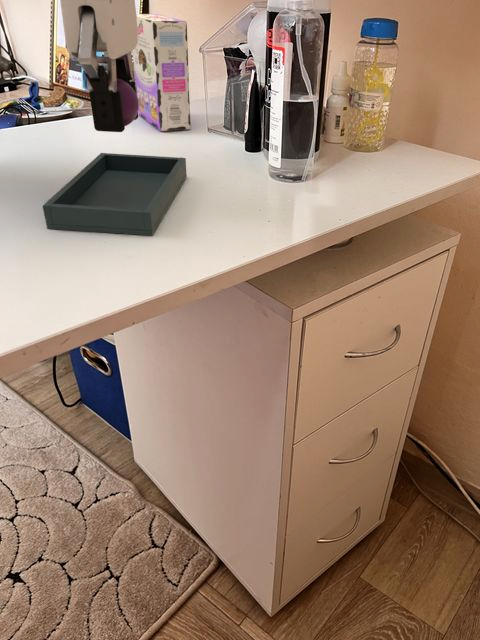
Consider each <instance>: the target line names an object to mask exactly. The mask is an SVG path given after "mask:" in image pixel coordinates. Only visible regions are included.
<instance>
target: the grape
mask: <svg viewBox="0 0 480 640" xmlns="http://www.w3.org/2000/svg"><path fill="white" fill-rule="evenodd" d="M116 80H117V91H121V99H122V108H123V116H124V125H125V127H127V126H129V125H130V124H132V123H133V122H134V121H135V120H134V119H135V118H136V116H137V113H138V108H139V103H138V98H137V93H135V91H134V89H133V88H132V87H131V86H130V85H129V84H128V83H127V82H125V81H123V80H121V79H118V78H116ZM138 114H139V113H138Z"/></svg>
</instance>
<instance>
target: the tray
mask: <svg viewBox="0 0 480 640" xmlns="http://www.w3.org/2000/svg"><path fill="white" fill-rule="evenodd" d="M187 177H188V176H187V159H186V157H175V156H157V155H143V154H142V155H141V154H128V153H127V154H125V153H124V154H123V153H109V152H108V153H107V152H100V153H99V154H98V155H97V156H96V157H95V158H93V159H92V160H91V162H89V163H88V164H87V165H86V166H85V167H84V168H82V169H81V170H80V171H79V172H77V174H76V175H74V177H73V178H71V179H70V181H68V182H67V183H66V184H65V185H64V186H63V187H61V188H60V189H59V190H58V191H57V192H56V193H54V194H53V196H51V197H50V198H49V199H48V200H47V201H46V202H45V203H44V204H43V205H42V210H43V216H44V220H45V224H46V228H47V229H48V230H59V231H60V230H61V231H74V232H77V231H78V232H91V233H108V234H121V235H137V236H150V237H151V236H152V237H153V236H154V234H155V233H156V230H157V229H158V227H159V225H160V223H161V222H162V220H163V218H164V217H165V215H166V213H167V212H168V210H169V208H170V206H171V205H172V203H173V201H174V200H175V198H176V196H177V195H178V193H179V191H180V189H181V188H182V186H183V184H184V182H185V181H186V179H187Z"/></svg>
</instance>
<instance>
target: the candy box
mask: <svg viewBox="0 0 480 640" xmlns="http://www.w3.org/2000/svg"><path fill="white" fill-rule="evenodd" d="M136 17H137V32H138V43H137V46H136V47H135V49H134V50H132V55H133V57H132V59H133V61H132V62H133V68H134V73H135V79H134V82H135V86H136V95H137V98H138V103H139V108H138V116H139V117H141V119H143V120H145V121H146V122H147V123H149V124H151V125H152V127H155V128H156V130H159V131H160V132H167V131H168V132H170V131H171V132H172V131H181V130H182V131H185V130H191V127H192V126H191V124H192V123H191V105H190V82H189V81H190V80H189V79H190V78H189V75H190V74H189V48H188V46H189V44H188V43H189V42H188V21H187V20H182V19H177V18H174V17H170V16H167V15H162V14H157V13H136Z"/></svg>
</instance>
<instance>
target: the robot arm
mask: <svg viewBox="0 0 480 640" xmlns="http://www.w3.org/2000/svg"><path fill="white" fill-rule="evenodd" d="M60 7H61V16H62V17H61V18H62V25H63V33H64V41H65V48H66V50H67V52H68V54H69V55H70V56H71V57H72V58H74V59H78V63H79V65H80V67H81V69H82V70H83V74H84V76H85V78H86V87H87V91H88V93H89V94H88V95H89V101H90V108H91V115H92V121H93V127H94V130H95V131H97V132H107V133H122V132H124V131H125V129H126V126H125V125H124V116H123V108H122V99H121V91H117V80H116V78H118V79H121V80H123V81H125V82H127V83H128V84H129V85H130V86H131V87H132V88H133V89H134V91H135V93H136V83H135V73H134V63H133V53H132V50H134V49H135V47H136V46H137V43H138V32H137V17H136V14H137V8H136V7H137V6H136V0H60ZM97 53H103V56H101V55H99V56H98V55H97ZM105 67H106V68H105ZM136 94H137V93H136ZM138 118H139V113H137V116H136V118H135V119H134V120H133V121H136V120H137V119H138Z"/></svg>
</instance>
